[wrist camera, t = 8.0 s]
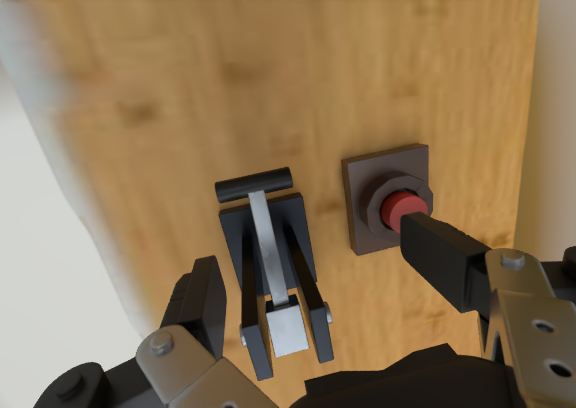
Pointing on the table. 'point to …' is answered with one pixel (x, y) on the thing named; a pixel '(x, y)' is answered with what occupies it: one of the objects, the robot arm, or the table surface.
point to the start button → (401, 207)
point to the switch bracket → (296, 271)
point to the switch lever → (270, 256)
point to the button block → (382, 192)
